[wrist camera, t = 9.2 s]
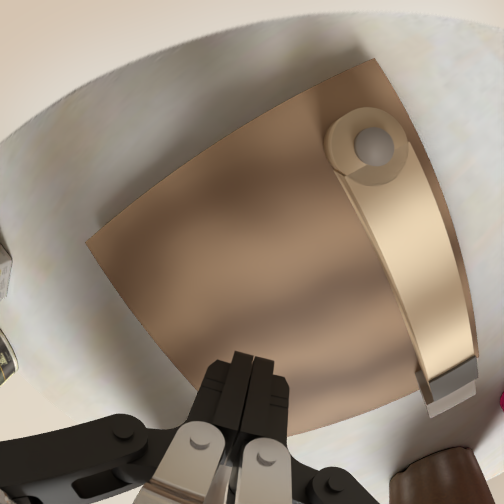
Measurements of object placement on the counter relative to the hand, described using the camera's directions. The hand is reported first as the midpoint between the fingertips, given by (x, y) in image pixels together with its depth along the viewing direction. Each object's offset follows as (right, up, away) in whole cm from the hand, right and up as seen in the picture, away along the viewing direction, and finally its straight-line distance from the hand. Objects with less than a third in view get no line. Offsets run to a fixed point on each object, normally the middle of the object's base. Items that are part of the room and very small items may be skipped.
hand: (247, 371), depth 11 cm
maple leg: (+8, +4, +4) cm, 10 cm away
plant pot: (+23, -24, +15) cm, 37 cm away
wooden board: (+3, +2, +8) cm, 9 cm away
